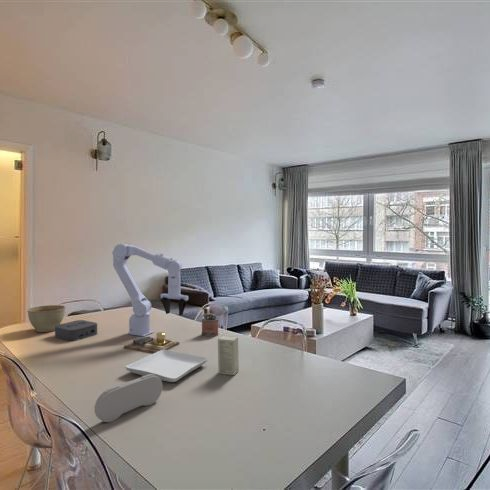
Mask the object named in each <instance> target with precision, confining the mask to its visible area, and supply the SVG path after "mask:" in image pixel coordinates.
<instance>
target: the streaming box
mask: <svg viewBox="0 0 490 490" xmlns="http://www.w3.org/2000/svg"><path fill="white" fill-rule="evenodd" d="M96 335H98V322H94V321H89V320H84V319H79V320H77V319H76V320H74V321H69V322H65V323H60V324H59V325H56V326H55V330H54V338H57V339H61V340H64V341H70V342H72V341H73V342H75V341H79V340H82V339H85V338H89V337H90V338H91V337H93V336H96Z"/></svg>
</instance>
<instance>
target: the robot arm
mask: <svg viewBox="0 0 490 490" xmlns="http://www.w3.org/2000/svg"><path fill="white" fill-rule="evenodd" d="M111 253H112V256H113V257H112V266H113V268H114V270H115V272H116V274H117V275H118V278H119V279H120V281H121V283H122V285H123V287H124V288H125V290H126V292H127V294H128V296H129V297H130V301H131V302H130V304H131V306H132V311H133V314H131V315H130V317H129V319H128V321H129V322H128V331H129V332H127V334H128V335H134V336H139V337H142V336H144V337H147V336H148V335H151V334H152V333H153V334H154V333H155V330H151V312H150V310H151V308H152V303H151V301H150V300H149V299H147V298H146V296H145V295H144V294H143V293H142V292H141V290H140V288H139V287H138V285H137V283H136V281H135V279H134V277H133V276H132V274H131V272H130V270H129V268H128V266H127V262H128V259H130V257H131V256H138V257H140V258H143V259H146V260H149V261H151V262H152V264H153V265H154V266H156V267H159V268H161V269H164V270H167V272H168V278H167V281H168V284H167V285H168V287H167V293H160V301H161V303H162V305H163V308H164V311H165V314H166V315H168V314H171V313H170V312H171V302H172V300H177V305H178V316H183V315H184V311H185V308H186V305H187V304H188V301H189V295H184V294H181V289H182V288H181V285H182V284H181V279H182V278H181V269H182V263H181V262H180V261H179V260H178V259H174V258H173V257H168V256H167V255H165V254H164V253H156V254H154V253H152V252H150V251H149V250H148V251H147V250H145V249H143V248H142V247H139V246H136V245H135V244H134V245H133V244H130V243H119V244H116V245H115V246H114V248H113V250H112V252H111Z"/></svg>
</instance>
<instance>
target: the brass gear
mask: <svg viewBox="0 0 490 490" xmlns="http://www.w3.org/2000/svg"><path fill="white" fill-rule="evenodd" d="M156 339H157V341H155V342H154V345H157V346H164V345H166V344H168V341H166V340H165V339H166V332H163V331H159V332H157V333H156Z"/></svg>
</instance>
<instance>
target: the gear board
mask: <svg viewBox="0 0 490 490" xmlns="http://www.w3.org/2000/svg"><path fill="white" fill-rule="evenodd" d="M165 340H166V341H168V344H166V345H164V346H157V345H154V342H155V341H157V337H156V338H155V337H151V336H150V335H149V336H148V335H147V336H139V337H135V338H134V339H132V342H130V343H128V344H125V345H124V346H123V348H124V349H129V350H135V351H138V352H139V351H141V352H146V353H150V354H153V353H156V352H158V351H161V350H170V349H172V348H174V347H176V346H178V345H180V342H179V341H177V340H173V339H166V338H165Z"/></svg>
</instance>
